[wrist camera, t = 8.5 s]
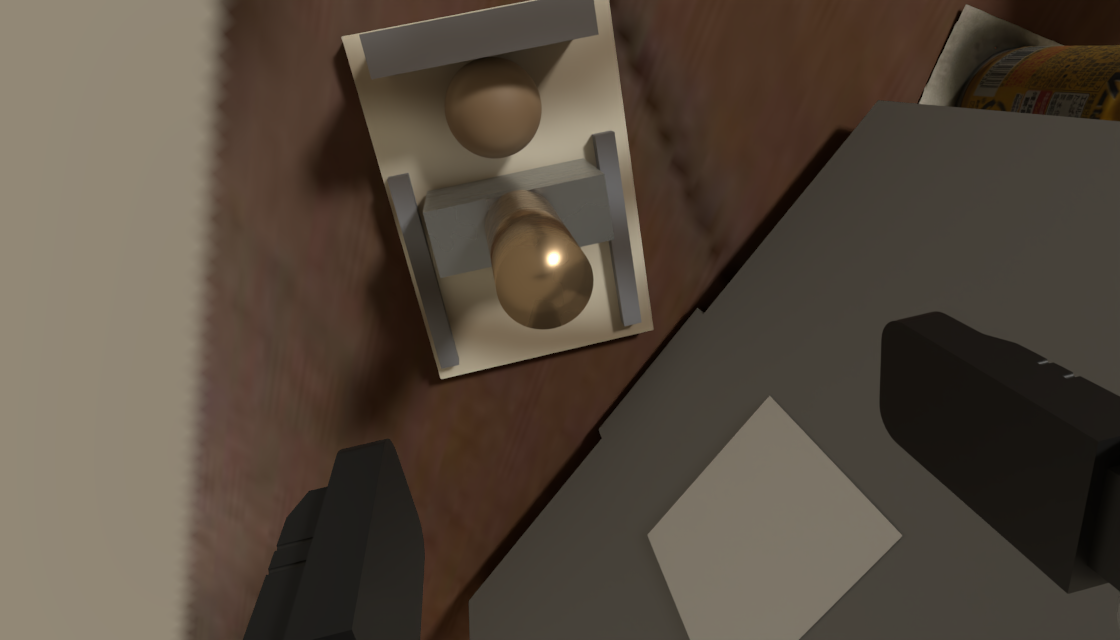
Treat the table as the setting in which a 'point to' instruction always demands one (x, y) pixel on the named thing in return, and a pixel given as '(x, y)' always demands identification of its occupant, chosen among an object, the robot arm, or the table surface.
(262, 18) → the table surface
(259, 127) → the table surface
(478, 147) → the peg and ball tray
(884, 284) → the laptop
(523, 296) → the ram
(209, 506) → the table surface
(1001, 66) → the condiment
